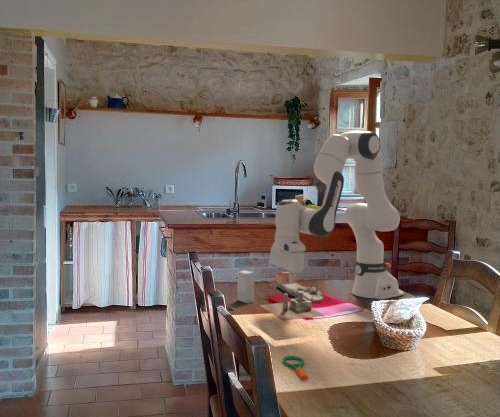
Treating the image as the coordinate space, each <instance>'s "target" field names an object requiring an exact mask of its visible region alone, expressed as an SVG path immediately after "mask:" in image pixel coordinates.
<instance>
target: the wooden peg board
mask: <svg viewBox="0 0 500 417" xmlns="http://www.w3.org/2000/svg"><path fill="white" fill-rule="evenodd" d="M282 295H283V296H282V302H279V303H278V302H277V303H268V304H260V305H259V307H261V308H263V309H265V310H266V311H267V312H270V313H271V314H273V315H274V316H275V317H276V318H278V319H280V320H282V322H283V321H292V320H297V319H307V318H316V317H321V316H325V314H324V313H322V312H320V311H318V310H316V309H314V308H313V307H312V303H313V302H311V301H309V300H307V299H305V298H303V292H298V298H289V295H288V294H287V293H283V294H282Z"/></svg>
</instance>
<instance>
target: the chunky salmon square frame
mask: <svg viewBox="0 0 500 417" xmlns="http://www.w3.org/2000/svg"><path fill="white" fill-rule="evenodd" d="M297 276H298V275H296V274H295V276H294V281H293V283H289V282H288V281H287V280H288V279H287V277H289V271H285V272H284V271H283V272H282V273H278V272H274V282H276V283H280V284H282V285H283V284H294V283H296V284H298V282H297V279H298V277H297Z"/></svg>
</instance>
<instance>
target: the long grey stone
mask: <svg viewBox="0 0 500 417" xmlns="http://www.w3.org/2000/svg"><path fill="white" fill-rule="evenodd" d="M276 286H277V288H278V289H280V290H282V292H283V293H285V294H289V295H288V296H291V295H292V296H291V297H293V296H294V299H296V298H298V292H303V298H305V299H307V300H309V301H311V302H312V303H324V300H325V296H324V294H323V293H322V292H321V291H320V290H319V287H318V286H312V287H311V286H308V287H307V286H303V285H301V284H298V283H294V284H283V285H282V284H280V283H278V282H276Z"/></svg>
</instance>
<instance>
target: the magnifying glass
mask: <svg viewBox="0 0 500 417" xmlns="http://www.w3.org/2000/svg"><path fill="white" fill-rule="evenodd" d="M291 360H292V361H298V363H290V362H287V361H291ZM282 364H283V365H284V366H286V367H288V368H289V367H290V368H289V369H291V368H292V369H291V370H293V369H294V371H295V372H297V373H296V374H297V376H298V377H299V379H300V380H301V381H307V380H308V378H309V377H308V374H306V373H305V371H304V370H303V367H304V365H305V362H304V359H303V358H302V357H301V356H297V355H288V356H287V355H286V356H284V357H283V358H282ZM303 364H304V365H303ZM302 366H303V367H302ZM305 379H306V380H305Z"/></svg>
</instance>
